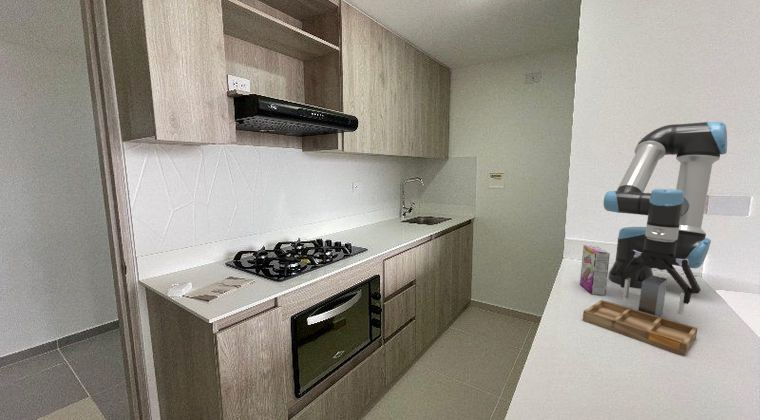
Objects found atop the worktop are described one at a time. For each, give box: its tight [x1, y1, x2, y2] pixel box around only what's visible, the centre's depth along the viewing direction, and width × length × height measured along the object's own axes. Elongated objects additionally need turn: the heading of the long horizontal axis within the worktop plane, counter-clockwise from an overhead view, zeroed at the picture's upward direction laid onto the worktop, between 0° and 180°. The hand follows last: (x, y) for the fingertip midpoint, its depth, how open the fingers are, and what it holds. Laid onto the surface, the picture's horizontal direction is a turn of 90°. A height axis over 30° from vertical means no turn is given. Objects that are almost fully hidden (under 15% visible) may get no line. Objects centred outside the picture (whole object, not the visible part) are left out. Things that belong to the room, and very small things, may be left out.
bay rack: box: [582, 299, 698, 357], centre depth 93 cm, size 15×23×3 cm, turn 37°
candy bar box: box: [579, 244, 611, 296], centre depth 122 cm, size 11×5×16 cm, turn 168°
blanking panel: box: [638, 275, 668, 317], centre depth 101 cm, size 10×4×12 cm, turn 127°
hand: (651, 305), depth 101 cm, fingers open, 13 cm apart
